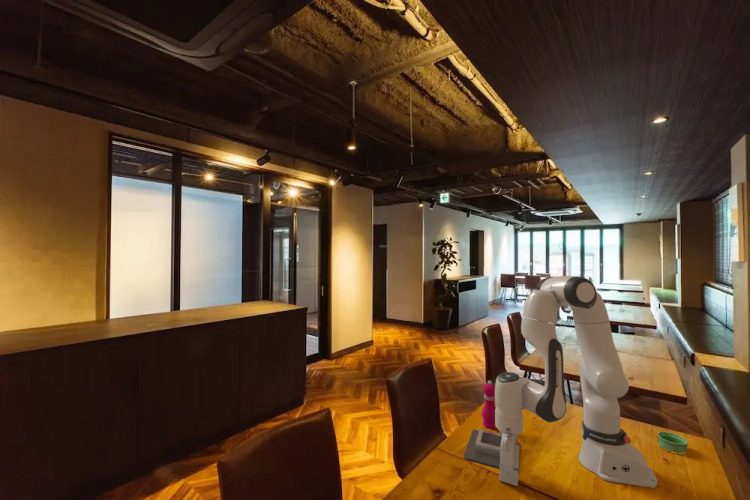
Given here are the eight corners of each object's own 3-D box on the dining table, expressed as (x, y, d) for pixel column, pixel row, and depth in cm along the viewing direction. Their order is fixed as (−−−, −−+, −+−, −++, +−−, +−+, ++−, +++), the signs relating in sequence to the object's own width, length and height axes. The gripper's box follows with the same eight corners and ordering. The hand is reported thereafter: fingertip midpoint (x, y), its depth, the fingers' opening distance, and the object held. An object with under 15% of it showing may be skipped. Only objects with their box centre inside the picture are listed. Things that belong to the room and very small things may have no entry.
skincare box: (499, 481, 111) (499, 445, 111) (499, 472, 115) (500, 438, 115) (518, 486, 109) (519, 450, 109) (519, 478, 113) (519, 443, 113)
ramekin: (695, 455, 125) (695, 444, 125) (671, 456, 125) (671, 444, 125) (673, 442, 134) (673, 431, 134) (651, 442, 134) (651, 431, 134)
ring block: (518, 442, 134) (518, 432, 134) (515, 472, 116) (515, 460, 116) (472, 431, 142) (472, 422, 142) (463, 458, 124) (463, 447, 124)
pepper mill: (496, 421, 150) (496, 377, 150) (500, 429, 143) (500, 384, 143) (480, 420, 151) (479, 377, 151) (483, 429, 144) (483, 383, 144)
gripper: (517, 440, 101) (518, 485, 101) (520, 410, 120) (520, 448, 120) (496, 435, 104) (496, 479, 104) (501, 407, 123) (502, 444, 123)
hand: (509, 462), depth 112 cm, fingers open, 4 cm apart
